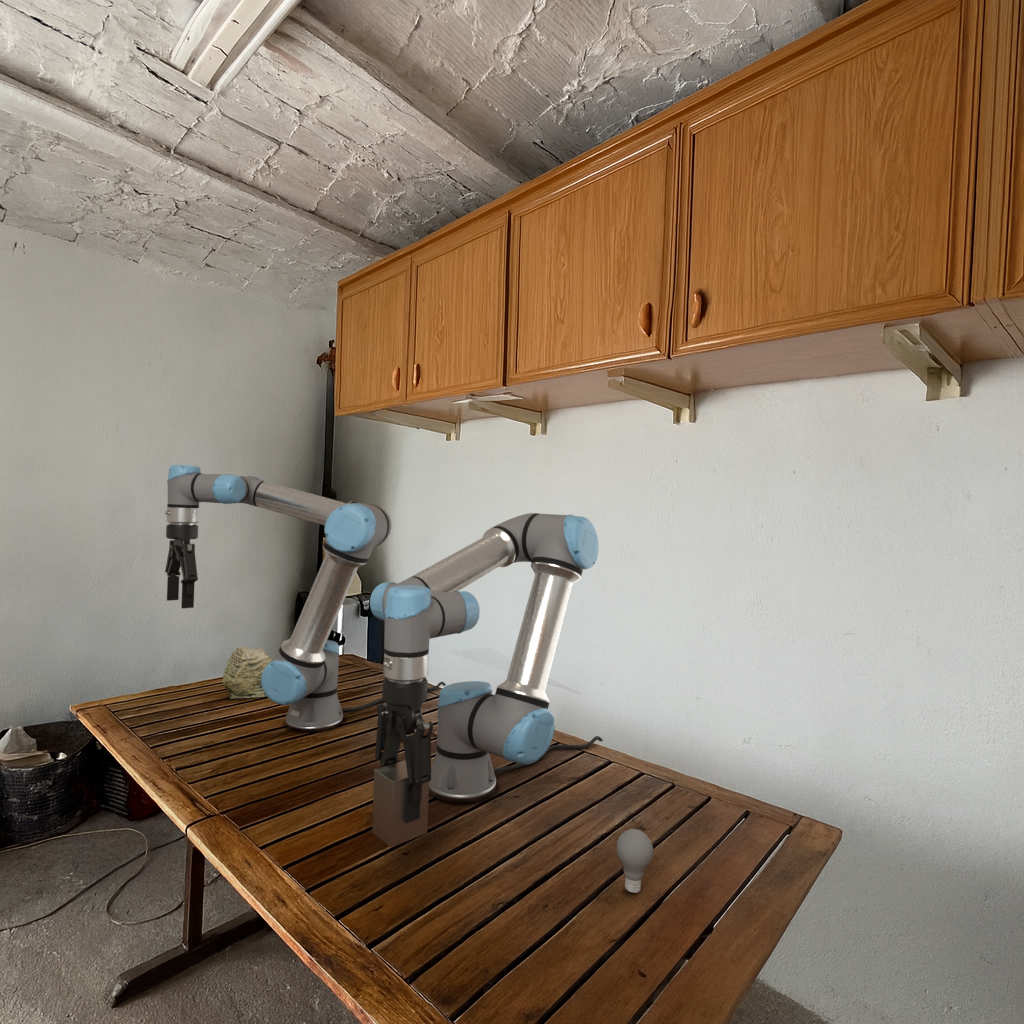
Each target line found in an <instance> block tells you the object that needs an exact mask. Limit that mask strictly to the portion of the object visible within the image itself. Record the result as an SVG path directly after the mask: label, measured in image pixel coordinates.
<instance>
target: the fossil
mask: <svg viewBox="0 0 1024 1024" xmlns="http://www.w3.org/2000/svg"><path fill="white" fill-rule="evenodd" d="M272 661H274V660H273V659H272V658H271V657H270V656H269V655H268V654H267V653H266V652H265V650H264V649H263V648H260V647H258V648H251V647H247V646H246V647H245V646H238V647H237V648H236V649H235V650H233V651H232V653H231V656H230V657H229V659H228V660H227V663H226V666H225V668H224V671H223V675H222V676H223V677H222V685H223V687H224V688H225V690H226V691H228V693H229V698H230V699H250V698H264V697H267V696H266V695H265V693H264V690H263V688H262V686H261V675H262V672H263V670H264V668H265V667H266V666H267V665H268V664H269V663H270V662H272Z"/></svg>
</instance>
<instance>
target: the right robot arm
mask: <svg viewBox="0 0 1024 1024" xmlns="http://www.w3.org/2000/svg"><path fill="white" fill-rule="evenodd" d="M598 556H599V537H598V534H597V530H596V528H595V526H594V524H593V523H592V521H590V519H589V518H587V517H585V516H579V515H574V514H555V513H553V514H552V513H550V514H549V513H538V512H530V513H529V512H528V513H525V514H524V513H523V514H521V515H520V514H519V515H517V516H515V517H512V518H509V519H507V520H505V521H503V522H501V523H498V524H496V525H494V526H492V527H490V528H489V529H487V530H486V531H485V532H484V533H483V535H482V537H480V539H478V540H476V541H474V542H472V543H470V544H469V545H467V546H465V547H463V548H461V549H459V550H457V551H455V552H454V553H452V554H450V555H448V556H446V557H444V558H443V559H441V560H439V561H437V562H435V563H434V564H431V565H430V566H428V567H426V568H425V569H423V570H420V571H419V572H416V573H415V574H413V575H412V576H410V577H408V578H406V579H404V580H402V581H400V582H398V583H397V582H395V581H390V582H382V583H380V584H378V585H377V586H375V588H374V589H373V590H372V592H371V594H370V598H369V607H370V610H371V613H372V615H373V616H374V617H375V618H377V619H378V620H381V621H384V641H383V642H384V643H383V644H384V645H383V653H384V654H383V663H382V665H383V676H384V679H383V680H382V690H381V691H382V692H381V693H382V694H381V698H382V699H383V701H382V702H384V703H380V704H379V703H378V704H376V712H377V727H376V728H377V729H376V739H375V740H376V741H375V753H374V758H375V760H376V761H379V762H380V768H382V767H385V766H388V765H392V764H395V763H398V762H401V761H400V760H399V759H398V756H399V752H400V747H401V743H402V744H403V750H404V759H405V760H406V767H407V775H408V782H405V797H404V823H409V822H412V821H414V820H417V819H419V818H420V802H421V796H422V794H421V793H422V784H423V783H426V782H429V795H431V797H433V798H435V799H436V800H440V801H443V802H447V803H452V804H471V803H477V802H481V801H484V800H487V799H488V798H490V797H491V796H492V795H494V794H495V792H496V787H497V778H496V774H497V773H502V772H506V771H513V770H517V769H521V768H523V767H526V766H530V765H532V764H534V763H536V762H538V761H540V760H542V759H543V758H544V757H545V756H546V754H547V753H548V752H550V751H553V750H558V749H567V750H569V749H570V750H580V749H581V750H582V749H587V748H590V747H591V746H592V745H593V744H594V743H595V742H596V741H598V742H604V740H603V738H602V737H601V736H599V735H596V736H594V737H592V739H591V740H590V741H588V742H587V743H584V744H554V745H551V743H552V740H553V738H554V735H555V730H556V724H555V722H556V721H555V717H554V714H553V713H552V712H551V711H550V709H549V706H550V702H551V701H550V699H549V697H548V695H547V693H546V690H547V686H548V682H549V679H550V678H549V677H550V674H551V670H552V666H553V662H554V659H555V654H556V651H557V646H558V644H559V643H558V642H559V638H560V636H561V635H560V634H561V631H562V627H563V622H564V618H565V615H566V611H567V607H568V603H569V599H570V595H571V592H572V587H573V585H574V584H576V583H577V582H579V581H581V579H582V576H583V571H584V570H589V569H592V568H593V566H594V565H595V564H596V562H597V560H598ZM523 562H524V563H530V568H531V569H532V571H533V573H534V578H533V580H532V585H531V589H530V593H529V596H528V599H527V603H526V606H525V610H524V614H523V617H522V622H521V625H520V628H519V633H518V636H517V639H516V642H515V643H516V644H515V647H514V650H513V654H512V658H511V662H510V665H509V668H508V672H507V676H506V679H505V680H504V681H503V682H501V683H500V684H499V685H497V686H496V690H495V693H494V694H493V688H492V684H490V683H489V682H487V681H480V680H470V681H469V680H467V681H460V682H453V683H450V684H446V686H443V687H442V688H441V690H440V691H439V695H438V704H437V726H436V727H437V728H436V730H437V735H436V752H435V753H436V754H435V756H434V758H433V761H432V734H433V730H434V723H433V722H432V721H426V720H425V719H424V718H423V711H422V706H423V704H424V703H425V702H426V701H427V699H428V691H427V688H428V682H429V681H428V679H427V677H428V675H429V659H430V658H429V656H430V640H431V639H435V638H440V637H445V636H451V635H455V634H458V635H459V634H462V633H464V632H466V631H470V630H472V629H474V627H475V626H476V625H477V624H478V622H479V619H480V614H481V612H480V603H479V602H478V600H477V598H476V596H475V595H474V594H472V593H471V592H470V591H466V590H463V589H465V588H466V587H468V586H469V585H471V584H473V583H475V582H477V580H479V579H481V578H483V577H484V576H486V575H487V574H489V573H490V572H492V571H494V570H496V569H497V568H507V567H509V566H511V565H512V564H516V563H523ZM461 590H462V591H461ZM490 755H493V756H496V757H499V758H502V759H505V761H507V762H511V763H515V764H513V765H507V766H501V767H496V768H494V767H493V764H492V759H491V756H490ZM414 775H415V776H414Z"/></svg>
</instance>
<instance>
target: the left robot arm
mask: <svg viewBox="0 0 1024 1024" xmlns="http://www.w3.org/2000/svg"><path fill="white" fill-rule="evenodd" d="M167 474H168V475H167V480H166V483H167V506H166V510H165V511H164V514H165V515H166V522H167V523H168V524H166V525H165V526H166V528H165V537H166V539H168V540H169V547H168V553H167V558H166V565H165V569H164V572H165V573H166V576H167V583H166V584H167V585H166V587H167V588H166V601H167V602H168V601H169V602H170V601H179V600H180V599H179V597H180V596H179V595H180V594H179V593H180V584H181V609H183V610H184V609H194V607H195V583H196V582H197V581H199V576H198V569H197V559H196V544H195V543H191V540H196V539H198V538H199V525H198V523H200V503H211V504H223V505H231V504H246V505H249V506H253V507H255V508H256V507H257V508H261V509H265V510H268V511H271V512H275V513H279V514H283V515H285V516H290V517H293V518H297V519H300V520H303V521H307V522H310V523H315V524H318V525H321V526H324V530H323V531H324V535H325V541H324V542H323V544H322V549H323V551H324V553H325V556H324V558H323V560H322V563H321V565H320V568H319V570H318V572H317V575H316V577H315V579H314V582H313V584H312V586H311V589H310V591H309V595H308V596H307V599H306V601H305V603H304V606H303V608H302V610H301V613H300V615H299V617H298V619H297V622H296V625H295V627H294V629H293V632H292V634H291V636H290V638H289V639H286V640H283V642H282V643H281V644H280V646H279V648H278V651H277V653H276V656H275V658H274V660H273V661H272V662H270V663H269V664H268V665H267V666H266V667H265V668H264V670H263V672H262V675H261V686H262V688H263V690H264V693H265V695H266V696H265V697H267V698H268V700H270V701H271V702H273V703H274V704H277V705H281V706H289V708H288V711H287V713H286V715H285V726H286V728H287V729H289V730H291V731H294V732H295V731H296V732H301V733H316V732H325V731H329V730H332V729H335V728H337V727H339V726H340V725H342V723H343V722H344V714H343V712H352V711H353V712H354V711H359V710H362V709H366V708H369V707H372V706H374V705H378V704H379V703H381V702H384V701H383V699H382V697H381V698H379V699H376V700H374V701H371V702H368V703H365V704H362V705H358V706H352V707H351V706H350V707H343V708H342V706H341V702H340V699H339V695H338V682H339V662H340V661H339V660H340V645H339V643H338V642H337V641H335V640H330V639H329V636H330V634H331V631H332V629H333V627H334V624H335V622H336V620H337V618H338V616H339V613H340V611H341V608H342V606H343V604H344V602H345V599H346V597H347V594H348V592H349V589H350V587H351V586H352V583H353V580H354V578H355V575H356V573H357V572H358V569H359V567H362V566H364V565H366V564H367V563H368V561H369V559H370V556H371V554H372V552H373V549H374V548H376V547H379V546H381V545H382V544H384V542H386V541H387V539H388V538H389V537H390V534H391V532H392V519H391V517H390V515H389V513H388V512H387V510H386V509H384V508H383V507H381V506H380V505H378V504H374V503H362V502H357V501H354V500H351V501H349V502H344V501H340V500H336V499H334V498H333V499H332V498H329V497H325V496H321V495H318V494H314V493H310V492H307V491H303V490H299V489H296V488H292V487H288V486H284V485H281V484H277V483H273V482H270V481H265V480H263V479H261V478H259V477H257V476H251V475H248V476H246V475H244V476H243V475H236V474H230V473H229V474H228V473H223V474H221V473H220V474H219V473H202V472H201V468H200V467H199V466H198V465H187V464H184V465H183V464H172V465H170V466H169V468H168V473H167ZM180 569H181V571H180ZM181 574H182V579H181V580H180V576H181ZM441 686H443V687H445V686H447V684H446V683H445V682H444V681H440V682H438V683H437V684H436V685H435V686H432V687H429V688H428V687H427V692H431V691H434V690H437V689H439V688H440V687H441Z"/></svg>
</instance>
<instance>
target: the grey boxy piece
mask: <svg viewBox="0 0 1024 1024" xmlns="http://www.w3.org/2000/svg"><path fill="white" fill-rule="evenodd" d="M397 762H398V761H397ZM414 776H415V775H414ZM405 782H408V775H407V767H406V759H405V760H402V761H400V762H398V763H395V764H392V765H388V766H385V767H379V768H375V769H374V770H373V796H372V797H373V798H372V818H371V819H372V820H371V825H372V826H371V833H372V834H373V835H374V836H376V837H377V839H379V840H381V841H382V842H383V843H384V844H385V845H387V847H389V848H394V847H396V846H399V845H402V844H404V843H406V842H409V841H411V840H414V839H416V838H418V837H421V836H424V835H425V834H427V833H428V819H429V795H430V793H429V782H426V783H423V784H422V793H421V794H422V796H421V802H420V818H419V819H417V820H414V821H412V822H409V823H404V797H405Z"/></svg>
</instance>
